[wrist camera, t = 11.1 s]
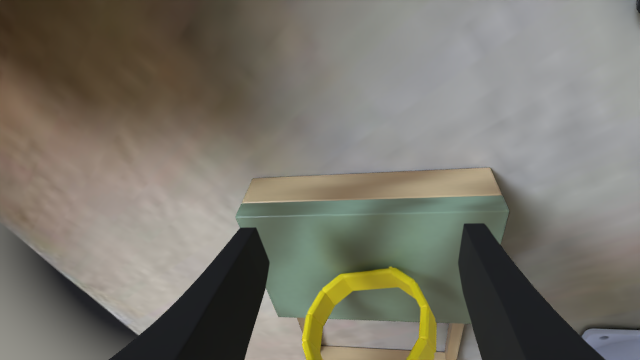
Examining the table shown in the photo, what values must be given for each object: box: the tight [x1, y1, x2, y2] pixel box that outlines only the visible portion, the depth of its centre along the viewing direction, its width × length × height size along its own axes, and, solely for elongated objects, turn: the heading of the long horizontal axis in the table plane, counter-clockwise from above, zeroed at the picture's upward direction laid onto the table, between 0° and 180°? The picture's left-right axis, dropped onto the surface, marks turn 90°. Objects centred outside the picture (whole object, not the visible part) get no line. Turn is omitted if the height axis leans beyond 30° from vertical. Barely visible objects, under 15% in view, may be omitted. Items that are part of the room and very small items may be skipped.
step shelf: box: [236, 168, 509, 360], centre depth 22 cm, size 12×20×3 cm, turn 9°
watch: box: [302, 266, 437, 360], centre depth 15 cm, size 6×3×6 cm, turn 116°
